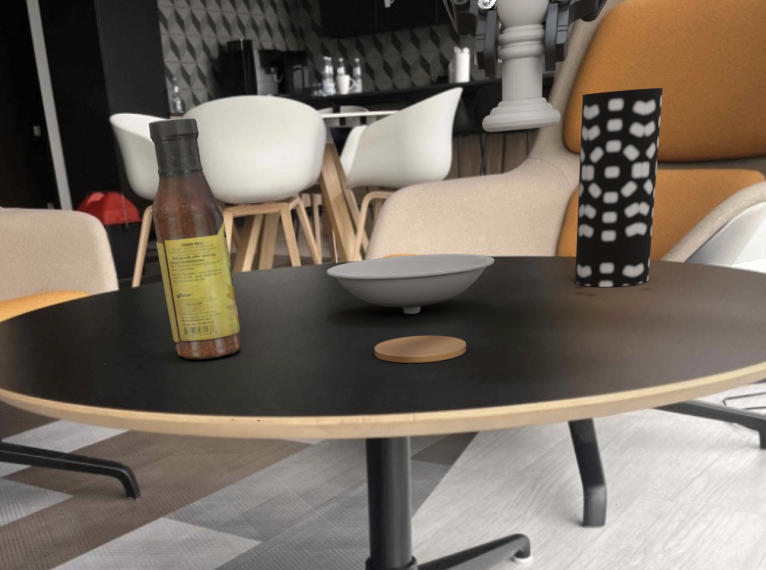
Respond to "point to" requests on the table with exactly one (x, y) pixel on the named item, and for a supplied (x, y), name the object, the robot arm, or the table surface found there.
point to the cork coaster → (420, 349)
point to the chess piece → (521, 69)
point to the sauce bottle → (192, 247)
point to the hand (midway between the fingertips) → (520, 62)
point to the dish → (411, 278)
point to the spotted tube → (617, 186)
